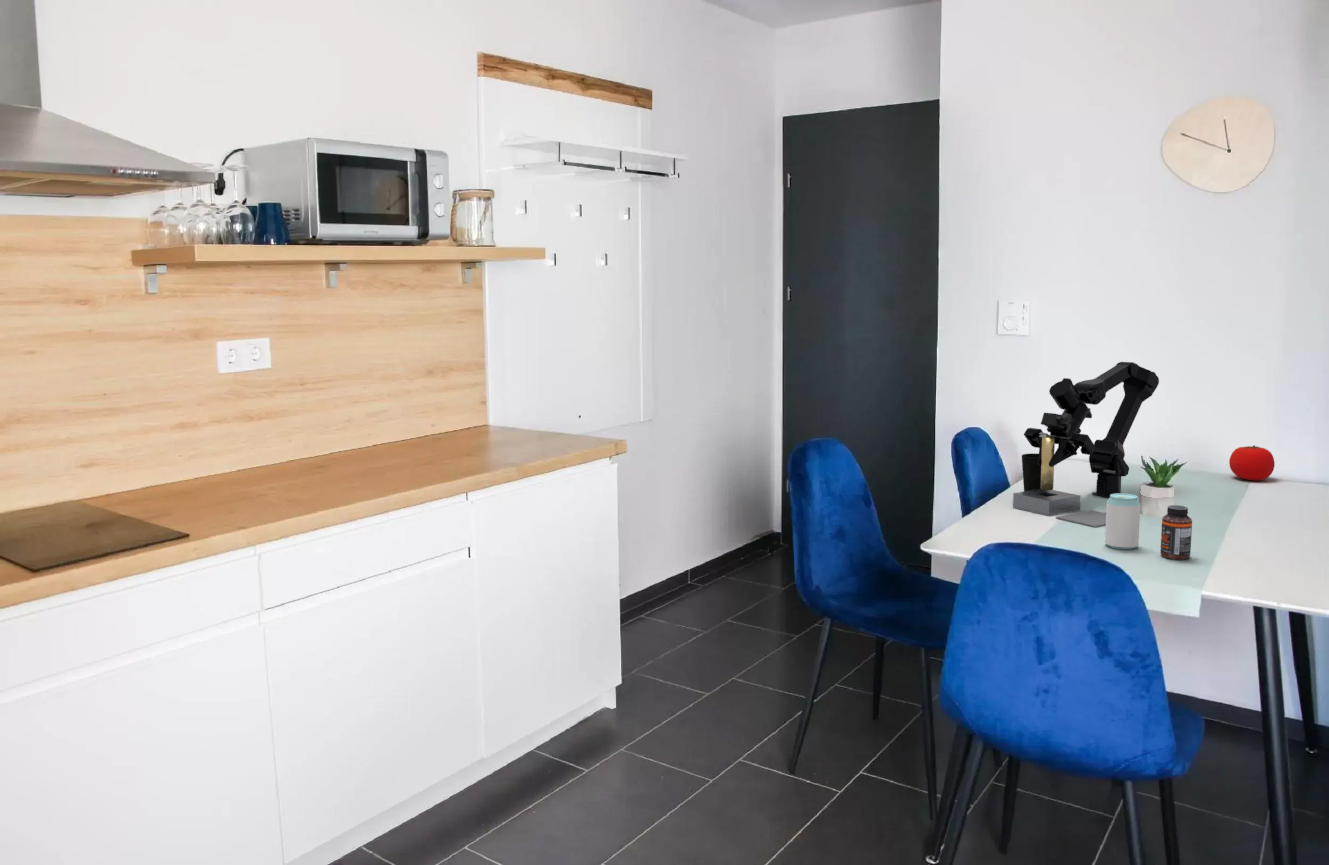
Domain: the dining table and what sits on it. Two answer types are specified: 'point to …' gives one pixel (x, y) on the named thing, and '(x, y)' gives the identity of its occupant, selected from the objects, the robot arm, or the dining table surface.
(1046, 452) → the pin
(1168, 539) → the supplement bottle
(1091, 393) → the robot arm
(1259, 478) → the tomato
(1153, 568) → the dining table surface
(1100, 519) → the mat
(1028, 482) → the cup
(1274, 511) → the dining table surface
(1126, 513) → the can
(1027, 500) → the grey square hole block
